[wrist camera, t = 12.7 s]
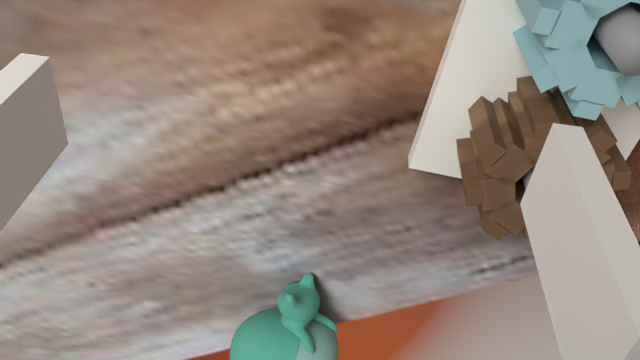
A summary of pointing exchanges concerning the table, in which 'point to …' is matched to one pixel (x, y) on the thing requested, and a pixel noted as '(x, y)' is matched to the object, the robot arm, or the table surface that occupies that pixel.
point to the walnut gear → (522, 151)
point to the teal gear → (574, 54)
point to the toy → (288, 329)
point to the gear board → (507, 78)
